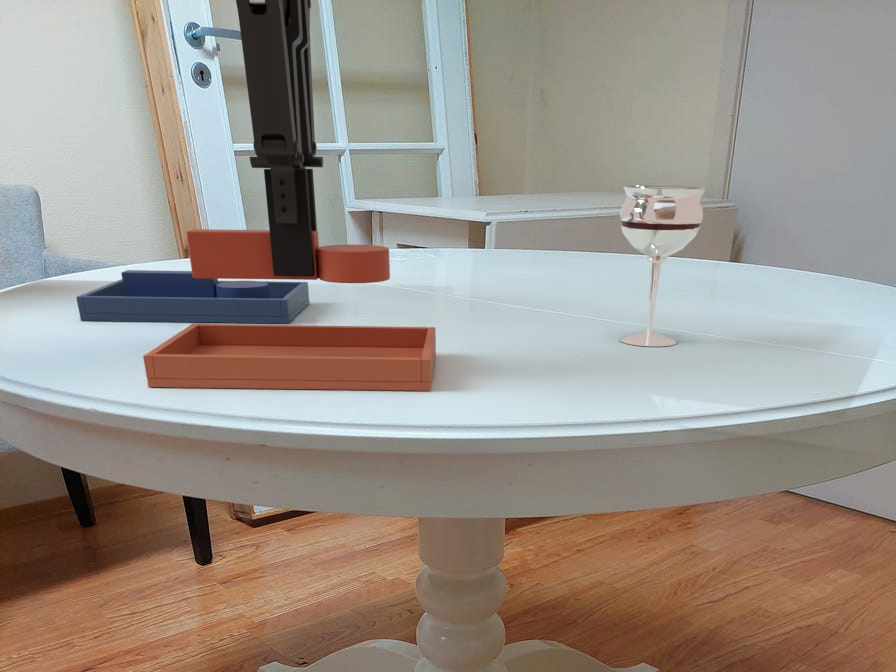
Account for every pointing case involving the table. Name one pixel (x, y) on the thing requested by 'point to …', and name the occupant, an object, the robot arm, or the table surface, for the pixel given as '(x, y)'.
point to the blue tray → (194, 306)
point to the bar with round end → (253, 258)
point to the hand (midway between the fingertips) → (297, 272)
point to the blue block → (188, 286)
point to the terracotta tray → (295, 357)
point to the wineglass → (659, 236)
